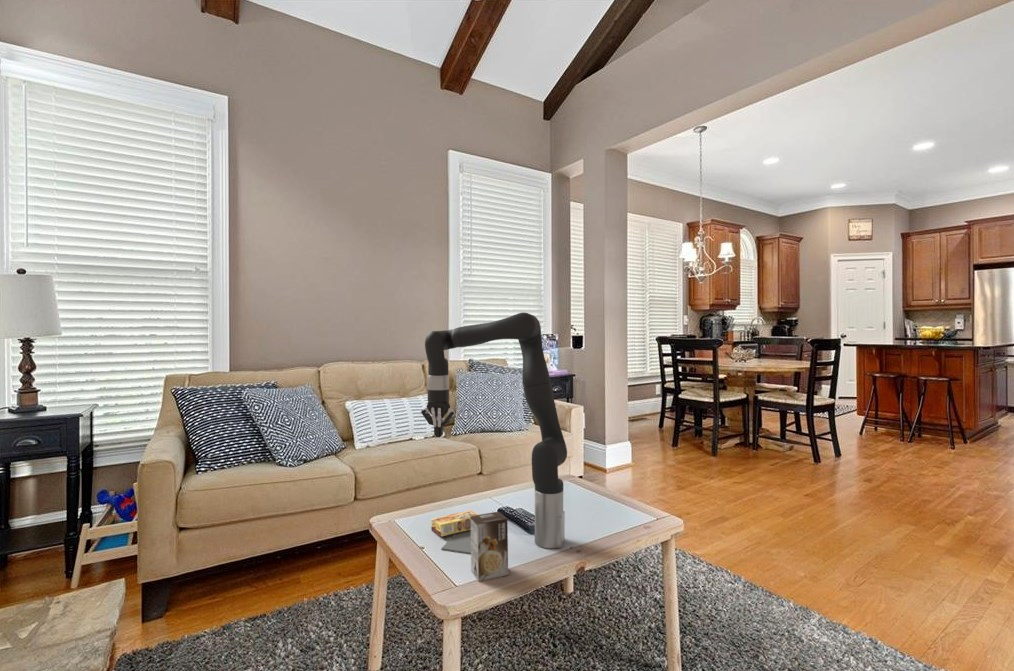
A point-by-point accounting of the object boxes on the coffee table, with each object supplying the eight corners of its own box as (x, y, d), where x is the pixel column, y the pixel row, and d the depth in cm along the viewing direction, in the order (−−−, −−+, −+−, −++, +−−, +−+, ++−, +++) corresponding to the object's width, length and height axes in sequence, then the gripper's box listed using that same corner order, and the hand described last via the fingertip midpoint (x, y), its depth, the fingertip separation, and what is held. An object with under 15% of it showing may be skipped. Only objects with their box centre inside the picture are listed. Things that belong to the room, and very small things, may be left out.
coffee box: (499, 565, 140) (499, 510, 140) (508, 575, 134) (508, 518, 134) (470, 571, 136) (470, 515, 136) (477, 582, 131) (477, 524, 130)
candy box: (440, 537, 156) (482, 528, 164) (440, 523, 157) (482, 515, 164) (431, 530, 164) (471, 521, 172) (430, 517, 164) (471, 509, 172)
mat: (500, 537, 158) (500, 535, 158) (486, 556, 145) (486, 555, 145) (458, 531, 163) (458, 530, 163) (441, 549, 150) (441, 548, 150)
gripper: (460, 387, 169) (460, 436, 169) (426, 385, 173) (426, 433, 173) (451, 389, 162) (451, 440, 162) (416, 388, 166) (416, 438, 166)
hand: (438, 437), depth 168 cm, fingers closed
